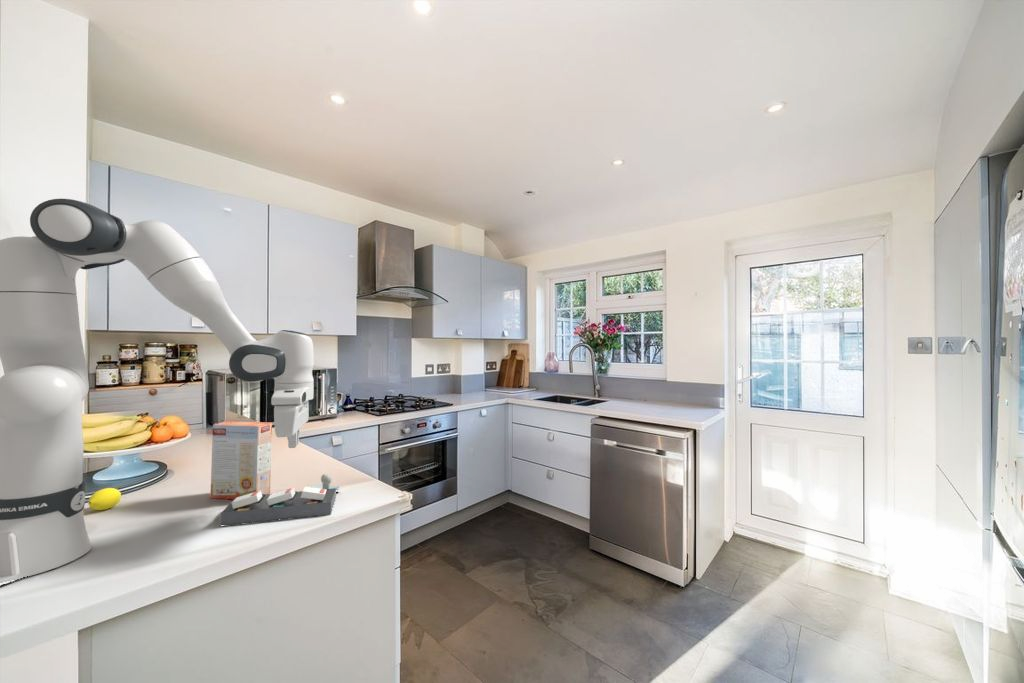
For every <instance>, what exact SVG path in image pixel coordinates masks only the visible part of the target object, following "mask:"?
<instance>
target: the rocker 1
mask: <svg viewBox="0 0 1024 683" xmlns="http://www.w3.org/2000/svg"><path fill="white" fill-rule="evenodd" d="M261 497H262V493H261V490H260V491H257V492H254V493H250V494H247V495H244V496H240V497H237V498H236V499H235V500H234V499H233V500H234V501H233V500H232V501H233V502H232V501H231V502H232V506H233V509H235V508H238V507H242V506H245V505H248V504H251V503H255V502H258V501H259V500H260V499H261Z"/></svg>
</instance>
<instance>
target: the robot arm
mask: <svg viewBox="0 0 1024 683" xmlns="http://www.w3.org/2000/svg"><path fill="white" fill-rule="evenodd" d="M29 225H30V229H31V230H32V232H33V233H34V234H33V235H34V236H10V237H6V238H2V239H0V362H1V365H2V368H3V375H2V376H1V377H0V583H3V582H7V581H11V580H16V579H19V578H22V579H24V578H23V577H25V578H27V576H28V577H31V576H34V575H38V574H41V573H44V572H47V571H50V570H54V569H56V568H59V567H61V566H64V565H67V564H68V563H71V562H73V561H75V560H77V559H79V558H80V557H82V556H84V555H85V554H87V553H88V552H89V551H90V550H92V547H93V544H92V542H91V540H90V537H89V534H88V532H87V531H88V530H87V527H86V522H85V516H84V509H85V505H86V491H87V490H86V481H85V480H83V478H84V477H83V476H84V474H83V473H84V447H85V445H84V444H85V443H84V435H83V417H82V416H83V415H82V406H83V404H82V403H83V401H84V400H85V398H86V397H87V396H88V393H89V389H90V382H89V375H88V367H87V362H86V356H85V350H84V345H83V339H82V333H81V326H80V324H81V322H80V315H79V314H80V313H79V304H78V294H77V285H76V276H77V272H78V271H79V269H81V270H92V269H95V268H102V267H105V266H106V267H107V266H113V265H117V264H120V263H122V262H125V261H128V262H130V263H131V264H132V265H133V266H134V267H136V269H137V270H138V271H140V273H141V274H142V275H143V277H145V279H146V280H147V281H148V282H149V283H150V284H151V286H152V287H153V288H154V289H155V290H156V291H157V292H159V293H160V295H162V296H163V298H165V299H167V300H168V301H169V302H170V303H171V304H173V306H175V307H177V308H179V309H181V310H183V311H185V312H186V313H188V314H190V315H192V316H193V317H195V318H196V319H198V320H199V321H201V322H202V323H203V324H204V325H205V326H206V327H207V328H208V329H209V330H210V331H211V332H212V334H214V335H215V337H216V338H217V340H218V341H220V343H222V345H223V346H224V347H225V348H226V349H227V351H228V353H229V355H230V357H229V360H228V366H229V367H228V368H229V369H230V373H231V374H232V375H233V376H234V377H236V378H237V379H238V380H241V381H242V382H245V383H246V382H247V383H258V382H263V381H266V380H270V379H274V388H273V394H272V396H271V403H270V404H271V405H272V406H273V407H274V408H273V419H274V420H273V422H274V432H275V435H276V437H277V438H286V439H287V442H288V443H287V445H288V448H289V449H295V448H296V447H297V446H298V445H299V443H300V442H299V441H300V440H299V438H300V434H301V429H302V428H303V426H305V425H306V423H307V422H309V417H310V416H309V411H310V409H309V404H310V403H309V401H312V400H314V393H315V392H314V391H315V390H314V389H315V388H314V387H315V385H314V383H315V382H314V381H315V380H314V376H313V370H314V367H315V350H314V349H315V348H314V347H315V346H314V342H313V339H312V337H310V336H309V335H308V334H306V333H304V332H301V331H300V332H299V331H294V330H289V329H288V330H287V329H281V330H279V331H278V332H277V333H274V334H272V335H270V336H268V337H266V338H262V339H260V340H258V339H256V338H255V337H254V336H253V335H252V334H251V333H250V332H249V331H248V329H247V328H246V327H245V326H244V324H242V322H241V321H240V320H239V318H238V317H237V316H236V315H235V314H234V313H233V311H232V309H231V308H230V307H229V304H228V302H227V300H226V299H225V296H224V292H223V291H222V288H221V286H220V284H219V282H218V280H217V278H216V277H215V274H214V272H213V271H212V270H211V268H210V266H209V264H207V263H206V261H205V260H204V259H203V258H202V256H201V255H200V254H199V253H198V251H197V250H196V249H195V248H194V247H193V246H192V245H191V243H189V242H188V241H187V240H186V239H185V237H183V236H182V235H181V234H180V233H179V232H178V231H176V230H175V229H174V228H173V227H172V226H171V225H169V224H168V223H166V222H163V221H160V220H152V219H151V220H150V219H149V220H142V221H138V222H134V223H133V224H131V223H130V224H127V223H124V222H123V220H122V219H121V218H120V217H117V216H115V215H114V214H111V213H109V212H107V211H106V210H105V211H104V210H103V209H101V208H99V207H97V206H95V205H92V204H90V203H87V202H85V201H84V202H83V201H81V200H76V199H72V198H71V199H70V198H52V199H48V200H46V201H42V202H41V203H39V204H38V205H37V206H35V207H34V208H33V210H32V211H31V213H30V217H29ZM19 580H20V579H19Z"/></svg>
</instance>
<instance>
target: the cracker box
mask: <svg viewBox="0 0 1024 683" xmlns="http://www.w3.org/2000/svg"><path fill="white" fill-rule="evenodd" d="M272 427H273V423H272V422H269V421H268V422H266V421H265V422H264V421H263V422H262V421H240V420H239V421H237V420H236V421H233V420H229V421H223V422H218V423H215V424H212V439H211V440H212V442H211V443H212V444H211V471H210V472H211V474H210V498H211V499H225V500H226V499H228V500H234V499H235V498H236V497H240V496H244V495H247V494H250V493H254V492H257V491H260V490H261V493H262V494H265V495H266V494H271V467H272V462H271V461H272V436H273V434H272V433H273V432H272V430H273V428H272Z"/></svg>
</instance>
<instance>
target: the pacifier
mask: <svg viewBox="0 0 1024 683" xmlns="http://www.w3.org/2000/svg"><path fill="white" fill-rule="evenodd" d="M320 480H321V482H322V484H321V485H314V486H313V487H312V488H319V489H333V488H336V490H337V491H336V492H338V493H340V492H341V491H340V490H341V488H340V486H331V483H332V477H331V475H330V474H328V473H324V474H322V475H321V477H320ZM339 491H340V492H339Z"/></svg>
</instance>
